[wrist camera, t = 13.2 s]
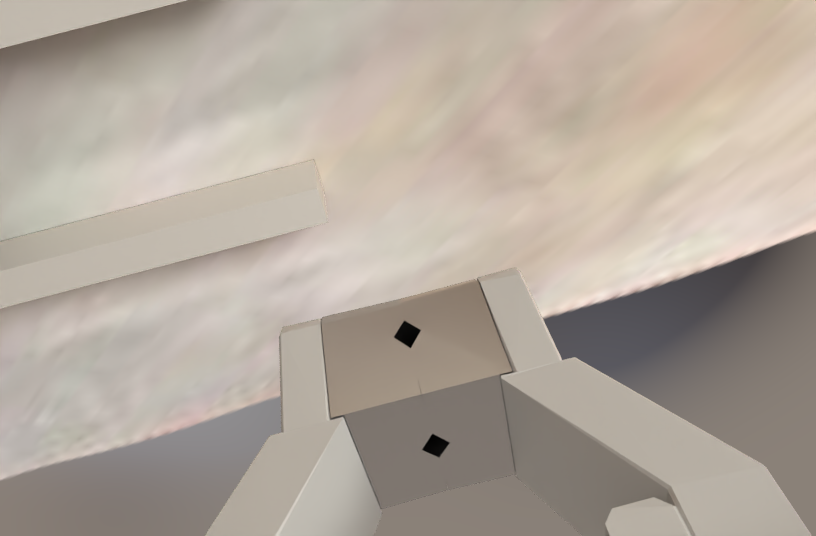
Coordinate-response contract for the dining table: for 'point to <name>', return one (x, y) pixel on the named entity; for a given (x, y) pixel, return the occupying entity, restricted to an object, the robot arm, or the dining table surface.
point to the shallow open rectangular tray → (152, 222)
